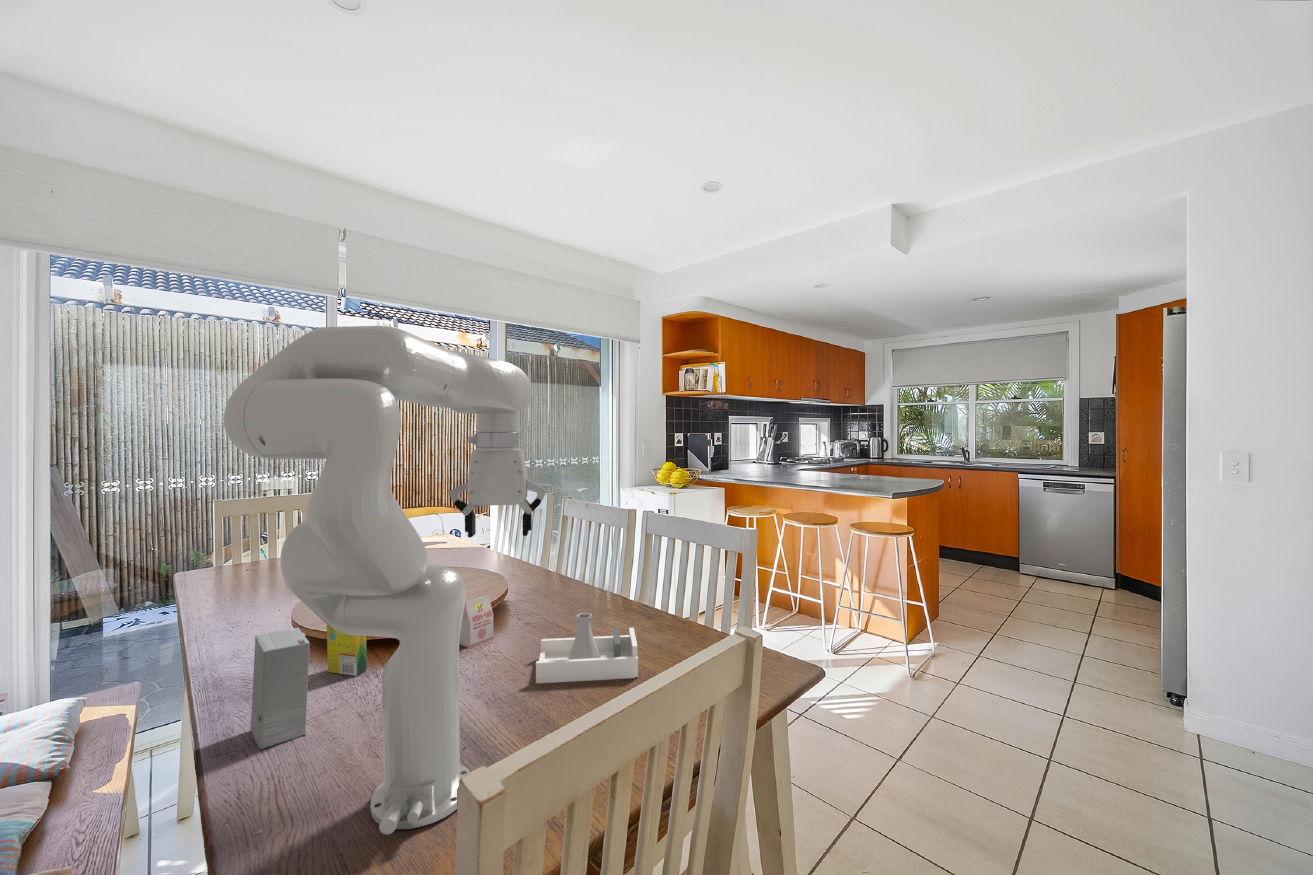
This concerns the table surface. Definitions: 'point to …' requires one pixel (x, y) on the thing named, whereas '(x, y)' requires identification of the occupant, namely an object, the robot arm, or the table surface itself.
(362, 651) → the crayon box
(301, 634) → the skincare box
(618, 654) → the pusher
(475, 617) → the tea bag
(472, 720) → the table surface
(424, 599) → the robot arm
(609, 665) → the tray
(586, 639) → the flask
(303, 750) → the table surface
